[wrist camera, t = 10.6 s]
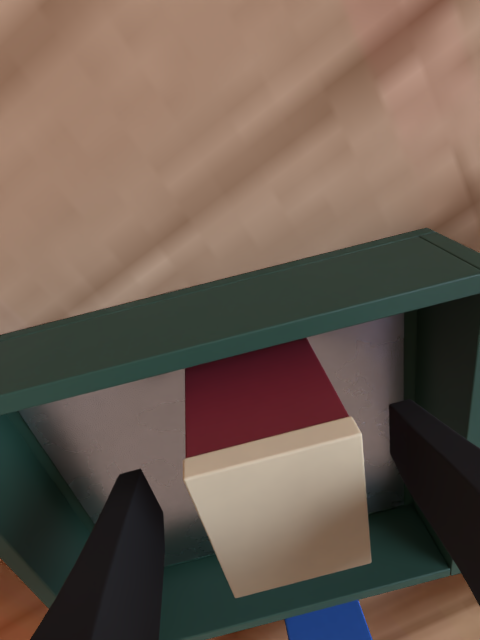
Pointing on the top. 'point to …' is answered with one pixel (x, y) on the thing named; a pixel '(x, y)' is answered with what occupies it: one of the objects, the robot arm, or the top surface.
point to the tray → (226, 341)
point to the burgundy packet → (275, 468)
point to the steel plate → (169, 430)
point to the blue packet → (330, 624)
